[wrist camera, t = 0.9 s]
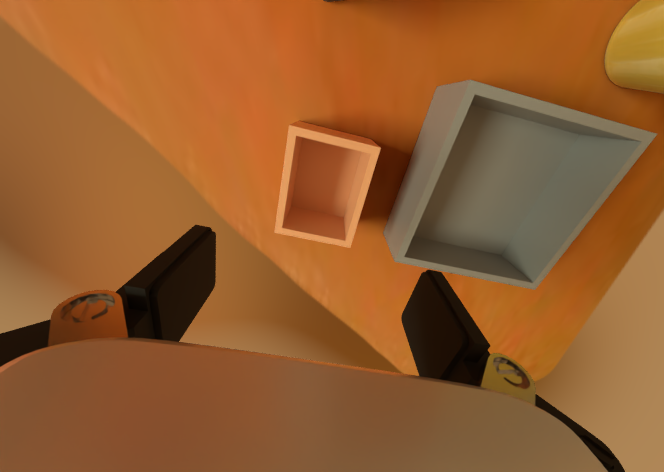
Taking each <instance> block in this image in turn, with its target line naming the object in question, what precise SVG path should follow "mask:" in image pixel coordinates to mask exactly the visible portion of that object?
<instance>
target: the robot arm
mask: <svg viewBox="0 0 664 472" xmlns="http://www.w3.org/2000/svg"><path fill="white" fill-rule="evenodd" d="M215 255H216V234H215V232H213V231H212V229H211V228H210V227H205V226H199V225H195V226H194V227H192V228H191V229H190V230H189V231H188V232H186V233H185V234H184V235H183V236H182V237H181V238H179V239H178V240H177V241H176V242H175V243H174V244H172V245H171V246H170V247H169V248H168V249H166V250H165V251H164V252H162V253H161V254H160V255H159V256H157V257H156V258H155V259H154V260H153V261H152V262H150V263H149V264H148V265H147V266H146V267H144V268H143V269H142V270H141V271H140V272H139V273H137V274H136V275H135V276H134V277H133V278H132V279H130V280H129V281H128V282H127V283H126V284H124V285H123V286H122V287H121V288H120V289H118V290H117V291H116V292H114V291H109V290H94V291H88V292H84V293H81V294H78V295H75V296H73V297H71V298H68V299H67V300H65V301H64V302H62V303H61V304H59V305H58V306H57V307H56V308H55V309H54V311H53V313H52V315H51V320H47V321H43V322H40V323H36V324H33V325H30V326H26V327H22V328H19V329H16V330H12V331H9V332H5V333H1V334H0V472H625V471H624V469H623V467H622V465H621V464H620V462H619V460H618V459H617V458H616V457H615V455H614V454H613V453H612V451H611V450H610V449H609V448H608V447H607V446H606V445H605V444H604V443H603V442H602V441H600V440H599V439H598V438H596V437H595V436H594V435H592V434H591V433H590V432H588V431H587V430H585V429H584V428H583V427H581V426H580V425H578V424H577V423H576V422H574V421H573V420H571V419H570V418H569V417H567V416H566V415H564V414H563V413H562V412H560V411H559V410H557V409H556V408H555V407H553V406H552V405H550V404H549V403H548V402H546V401H545V400H543V399H542V398H541V397H539V396H538V395H536V394H535V390H536V388H535V383H534V381H533V379H532V377H531V376H530V375H529V373H528V372H527V371H526V370H525V369H524V368H523V367H522V366H521V365H520V364H519V363H517V362H516V361H514V360H513V359H511V358H509V357H507V356H505V355H502V354H499V353H493V354H490V353H489V352H488V348H489V347H490V344H489V343H488V341H487V340H486V338H485V337H484V335H483V334H482V332H481V331H480V329H479V328H478V326H477V325H476V323H475V322H474V320H473V319H472V317H471V316H470V314H469V313H468V311H467V310H466V308H465V307H464V305H463V304H462V302H461V301H460V299H459V298H458V296H457V295H456V293H455V292H454V290H453V289H452V287H451V286H450V284H449V283H448V281H447V280H446V278H445V277H444V275H443V274H442V273H441V272H438V271H433V270H427V271H426V272H423V273H422V274H421V276H420V278H419V280H418V282H417V284H416V286H415V288H414V291H413V293H412V295H411V297H410V299H409V301H408V303H407V305H406V307H405V309H404V311H403V314H402V324H403V327H404V330H405V333H406V336H407V339H408V342H409V345H410V348H411V351H412V354H413V357H414V361H415V364H416V367H417V370H418V373H419V376H414V375H408V374H401V373H394V372H388V371H381V370H375V369H368V368H362V367H355V366H348V365H341V364H334V363H328V362H321V361H313V360H307V359H300V358H293V357H286V356H279V355H271V354H265V353H258V352H250V351H244V350H237V349H230V348H222V347H215V346H208V345H199V344H192V343H183V342H179V341H180V339H181V337H182V336H183V335H184V333H185V331H186V330H187V328H188V327H189V325H190V324H191V322H192V321H193V319H194V318H195V316H196V315H197V313H198V312H199V310H200V309H201V307H202V306H203V304H204V303H205V301H206V300H207V298H208V297H209V295H210V293H211V292H212V290H213V288H214V286H215V270H216V269H215V268H216V267H215V266H216V265H215V264H216V263H215V262H216V261H215V260H216V256H215Z"/></svg>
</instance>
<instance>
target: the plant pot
mask: <svg viewBox="0 0 664 472" xmlns="http://www.w3.org/2000/svg"><path fill="white" fill-rule="evenodd" d="M604 64H605V70H606V73H607V76H608V77H609V79H610V80H611V81H612V82H613V83H614V84H616V85H618V86H620V87H624V88H631V89H637V90H643V91H650V92H656V93H662V94H664V0H640V1H639V2H638V3H637V4H635V5H634V6H633V7H632V8H631V9H630V10H629V11H628V12H627V14H626V15H625V16H624V17H623V18H622V20H621V21H620V22H619V24H618V25H617V27H616V28H615V30H614V32H613V34H612V36H611V38H610V40H609V43H608V46H607V49H606V53H605V62H604Z"/></svg>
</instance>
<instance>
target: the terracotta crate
mask: <svg viewBox="0 0 664 472" xmlns="http://www.w3.org/2000/svg"><path fill="white" fill-rule="evenodd" d="M380 149H381V147H379V146H378V145H377V144H376V143H375V142H373V141H372V140H371V139H369V138H365V137H361V136H357V135H353V134H349V133H345V132H341V131H337V130H333V129H329V128H325V127H321V126H317V125H313V124H309V123H306V122H302V121H298V122H295V123H293V124H290V125H289V130H288V137H287V144H286V152H285V159H284V166H283V174H282V181H281V188H280V196H279V203H278V210H277V218H276V225H275V232H274V233H279V234H284V235H289V236H294V237H299V238H304V239H309V240H314V241H319V242H324V243H329V244H334V245H339V246H343V247H348V248H350V247H351V244H352V240H353V237H354V234H355V231H356V227H357V224H358V221H359V218H360V214H361V211H362V208H363V205H364V201H365V198H366V195H367V192H368V188H369V185H370V182H371V179H372V175H373V172H374V169H375V166H376V162H377V159H378V156H379V153H380Z"/></svg>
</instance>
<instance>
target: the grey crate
mask: <svg viewBox="0 0 664 472" xmlns="http://www.w3.org/2000/svg"><path fill="white" fill-rule="evenodd" d="M656 135H657V134H656V133H652V132H649V131H645V130H642V129H638V128H635V127H631V126H628V125H625V124H621V123H618V122H614V121H611V120H607V119H604V118H600V117H597V116H593V115H590V114H587V113H583V112H580V111H576V110H573V109H569V108H566V107H562V106H559V105H556V104H552V103H549V102H545V101H542V100H538V99H535V98H531V97H528V96H524V95H521V94H518V93H514V92H511V91H507V90H504V89H500V88H497V87H493V86H490V85H486V84H483V83H480V82H476V81H473V80H468V81H462V82H457V83H452V84H447V85H442V86H437V88H436V91H435V93H434V96H433V99H432V102H431V104H430V107H429V110H428V112H427V115H426V118H425V121H424V123H423V126H422V129H421V131H420V134H419V137H418V140H417V142H416V145H415V148H414V150H413V153H412V156H411V159H410V161H409V164H408V167H407V169H406V172H405V175H404V178H403V180H402V183H401V186H400V188H399V191H398V194H397V197H396V199H395V202H394V205H393V208H392V210H391V213H390V216H389V218H388V221H387V224H386V227H385V229H384V232H383V234H384V236H385V239H386V241H387V244H388V246H389V249H390V251H391V254H392V256H393V259H394V261H395V262H399V263H404V264H409V265H414V266H419V267H424V268H429V269H434V270H439V271H444V272H449V273H454V274H459V275H464V276H469V277H474V278H479V279H484V280H489V281H494V282H499V283H504V284H509V285H514V286H519V287H524V288H529V289H534V290H535V289H536V288H537V287H538V285H539V284H540V283H541V281H542V280H543V279H544V278H545V276H546V275H547V274H548V273H549V271H550V270H551V269H552V267H553V266H554V265H555V264H556V262H557V261H558V260H559V259H560V257H561V256H562V255H563V253H564V252H565V251H566V250H567V248H568V247H569V246H570V245H571V243H572V242H573V241H574V240H575V238H576V237H577V236H578V234H579V233H580V232H581V231H582V229H583V228H584V227H585V226H586V224H587V223H588V222H589V220H590V219H591V218H592V217H593V215H594V214H595V213H596V212H597V210H598V209H599V208H600V206H601V205H602V204H603V203H604V201H605V200H606V199H607V198H608V196H609V195H610V194H611V192H612V191H613V190H614V189H615V187H616V186H617V185H618V184H619V182H620V181H621V180H622V178H623V177H624V176H625V175H626V173H627V172H628V171H629V170H630V168H631V167H632V166H633V164H634V163H635V162H636V161H637V159H638V158H639V157H640V156H641V154H642V153H643V152H644V150H645V149H646V148H647V147H648V145H649V144H650V143H651V142H652V140H653V139H654V138H655V136H656Z"/></svg>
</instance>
